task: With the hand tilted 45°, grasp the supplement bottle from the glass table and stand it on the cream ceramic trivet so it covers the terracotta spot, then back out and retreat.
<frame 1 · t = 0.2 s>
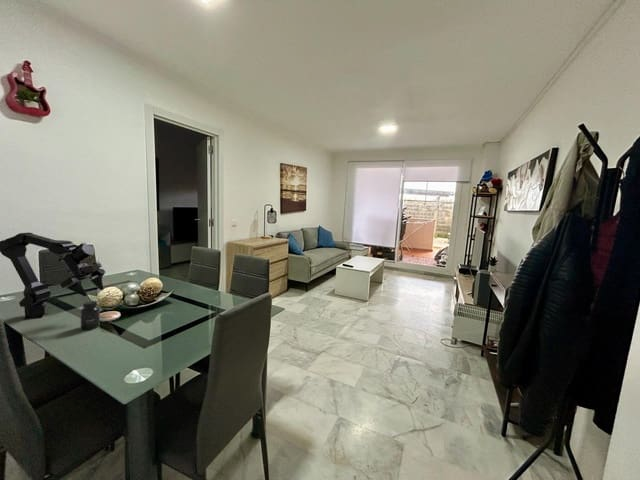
hand: (94, 292, 129), 14 cm above the table, tool tilted 35°, fingers open, 9 cm apart
supplement bottle: (90, 327, 125), on the table
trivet: (108, 317, 136), on the table
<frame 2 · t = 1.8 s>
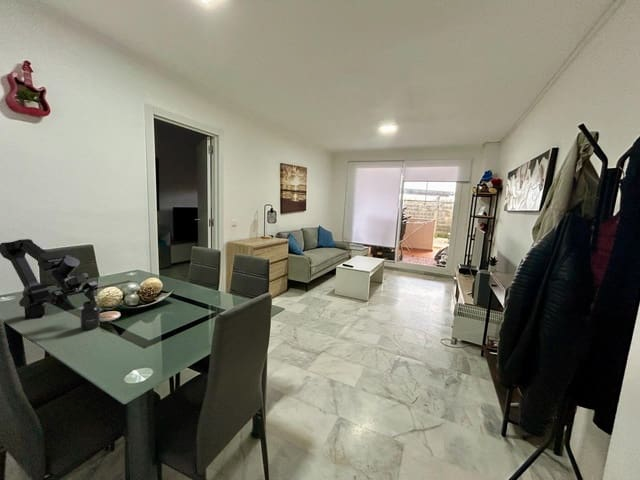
hand: (84, 305, 124), 10 cm above the table, tool tilted 45°, fingers open, 9 cm apart
nothing on the table moved.
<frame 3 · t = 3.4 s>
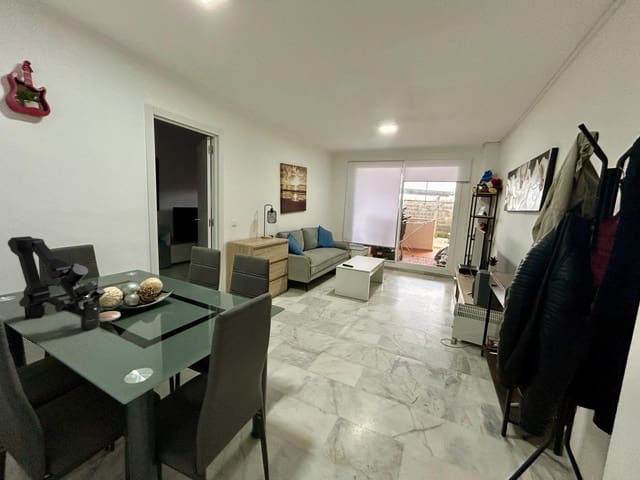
hand: (92, 313, 124), 7 cm above the table, tool tilted 45°, fingers closed on supplement bottle, 6 cm apart
supplement bottle: (90, 327, 125), on the table, touching gripper
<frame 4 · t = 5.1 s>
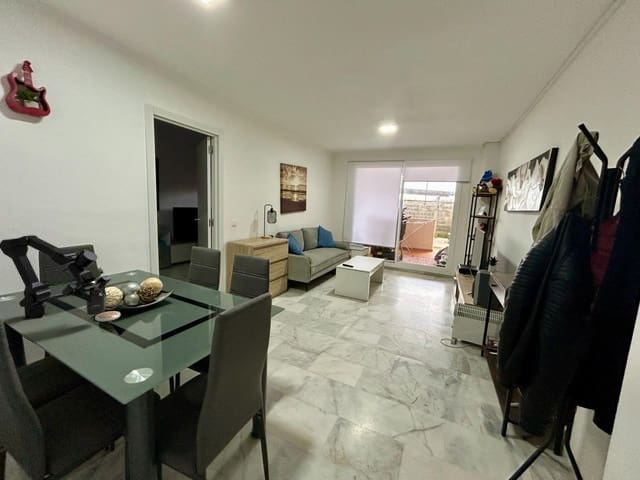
hand: (98, 299, 127), 12 cm above the table, tool tilted 45°, fingers closed on supplement bottle, 6 cm apart
supplement bottle: (96, 312, 128), point 5 cm above the table, touching gripper
when the fingers open (8 cm above the table, at t = 7.0 s): supplement bottle stays where it is, resting on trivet.
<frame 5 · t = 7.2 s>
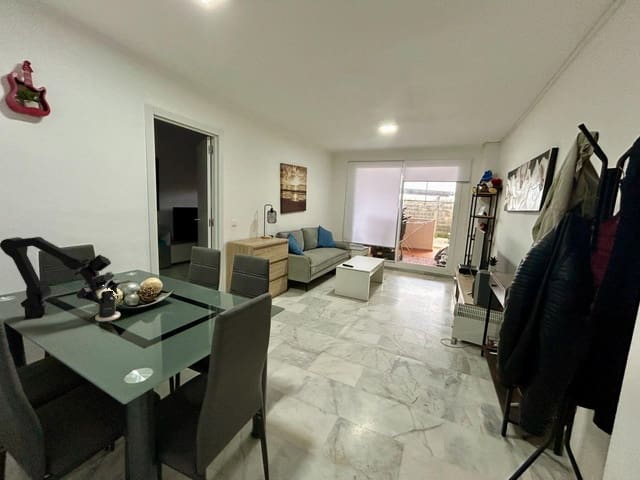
hand: (109, 301, 135), 9 cm above the table, tool tilted 45°, fingers open, 8 cm apart
supplement bottle: (107, 315, 136), point 1 cm above the table, touching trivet
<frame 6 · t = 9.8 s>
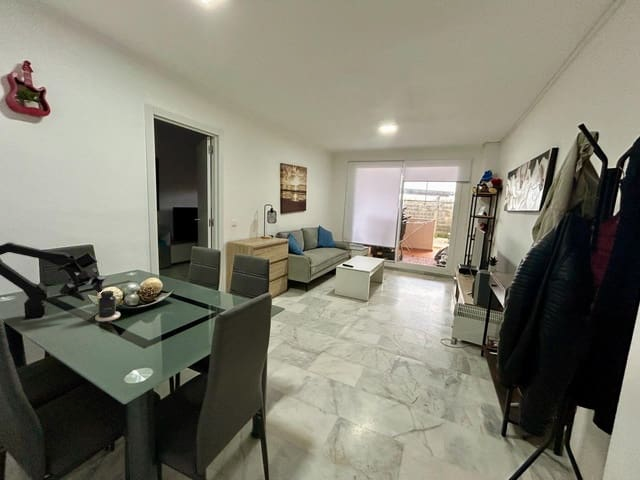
hand: (93, 297, 136), 9 cm above the table, tool tilted 45°, fingers open, 9 cm apart
nothing on the table moved.
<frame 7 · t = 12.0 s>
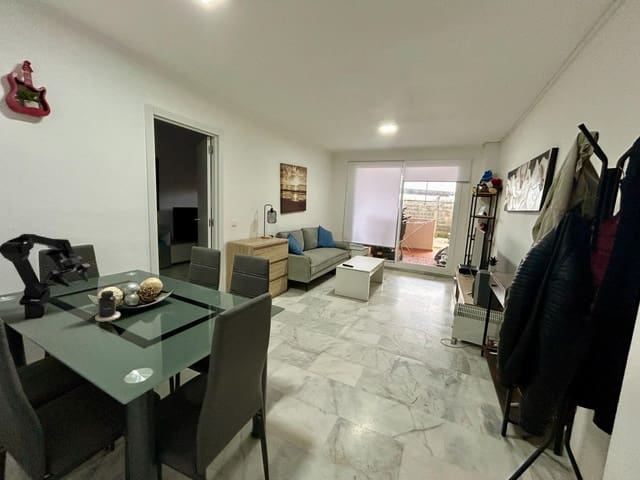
hand: (78, 283, 142), 13 cm above the table, tool tilted 45°, fingers open, 9 cm apart
nothing on the table moved.
at the end: supplement bottle 0.3 cm from the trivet (horizontally); supplement bottle tilted 0°; the gripper is holding nothing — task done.
